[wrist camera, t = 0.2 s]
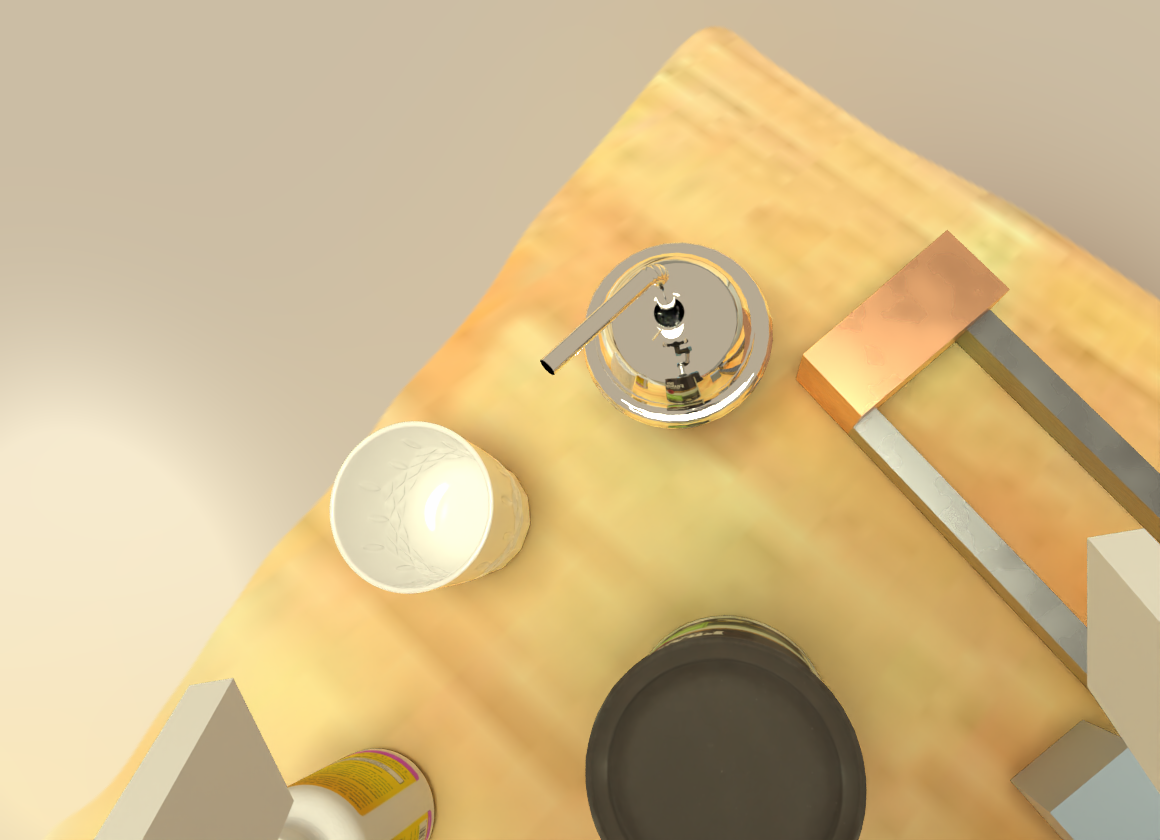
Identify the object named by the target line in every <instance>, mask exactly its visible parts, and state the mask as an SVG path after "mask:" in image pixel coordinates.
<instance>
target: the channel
mask: <svg viewBox="0 0 1160 840" xmlns="http://www.w3.org/2000/svg"><path fill="white" fill-rule="evenodd" d="M1009 290H1010V289H1009V288H1008V287H1007V286H1006V285H1005V284H1004V283H1003V282H1002V281H1000V280H999V279H998V278H997V277H996V276H995V275H994V274H993V273H992V272H991V271H990V270H989V269H988V268H987V267H986V266H985V265H984V264H983V263H982V262H981V261H979V260H978V259H977V258H976V257H975V256H974V255H973V254H972V253H971V252H970V251H969V250H968V249H967V248H966V247H965V246H964V245H963V244H962V243H961V242H960V241H958V240H957V239H956V238H955V237H954V236H953V235H952V234H951V233H950V232H949V231H948V230H947V231H945V232H944V233H943V234H942V235H941V236H940V237H938V238H937V239H936V240H935V241H934V242H933V243H931V244H930V245H929V246H928V247H927V248H926V249H925V250H923V251H922V252H921V253H920V254H919V255H918V256H916V257H915V258H914V259H913V260H912V261H911V262H909V263H908V264H907V265H906V266H905V267H904V268H903V269H901V270H900V271H899V272H898V273H897V274H896V275H894V276H893V277H892V278H891V279H890V280H889V281H887V282H886V283H885V284H884V285H883V286H882V287H880V288H879V289H878V290H877V291H876V292H875V293H874V294H872V295H871V296H870V297H869V298H868V299H867V300H865V301H864V302H863V303H862V304H861V305H860V306H858V307H857V308H856V309H855V310H854V311H853V312H851V313H850V314H849V315H848V316H847V317H846V318H845V319H843V320H842V321H841V322H840V323H839V324H838V325H836V326H835V327H834V328H833V329H832V330H831V331H829V332H828V333H827V334H826V335H825V336H824V337H822V338H821V339H820V340H819V341H818V342H817V343H816V344H814V345H813V346H812V347H811V348H810V349H809V350H807V351H806V352H805V353H804V354H803V356H802V359H801V363H800V366H799V370H798V374H797V377H796V380H797V381H798V382H799V383H800V384H801V385H802V386H803V387H804V388H805V389H806V391H807V392H808V393H809V394H810V395H811V396H812V397H813V398H814V399H815V400H816V401H817V402H818V403H819V404H820V405H821V406H822V408H823V409H824V410H825V411H826V412H827V413H828V414H829V415H830V416H831V417H832V418H833V419H834V420H835V421H836V422H837V423H838V424H839V426H840V427H841V428H842V429H843V430H844V431H845V432H846V433H847V434H848V435H849V436H850V437H851V438H852V439H853V440H854V441H855V443H856V444H857V445H858V446H859V447H860V448H861V449H862V450H863V451H864V452H865V453H866V454H867V455H868V456H869V457H870V458H871V460H872V461H873V462H874V463H875V464H876V465H877V466H878V467H879V468H880V469H881V470H882V471H883V472H884V473H885V474H886V475H887V476H888V478H889V479H890V480H891V481H892V482H893V483H894V484H895V485H896V486H897V487H898V488H899V489H900V490H901V491H902V492H903V493H904V495H905V496H906V497H907V498H908V499H909V500H910V501H911V502H912V503H913V504H914V505H915V506H916V507H917V508H918V509H919V510H920V511H921V513H922V514H923V515H924V516H925V517H926V518H927V519H928V520H929V521H930V522H931V523H932V524H933V525H934V526H935V527H936V528H937V530H938V531H939V532H940V533H941V534H942V535H943V536H944V537H945V538H946V539H947V540H948V541H949V542H950V543H951V544H952V545H953V546H954V548H955V549H956V550H957V551H958V552H959V553H960V554H961V555H962V556H963V557H964V558H965V559H966V560H967V561H968V562H969V563H970V565H971V566H972V567H973V568H974V569H975V570H976V571H977V572H978V573H979V574H980V575H981V576H982V577H983V578H984V579H985V580H986V582H987V583H988V584H989V585H990V586H991V587H992V588H993V589H994V590H995V591H996V592H997V593H998V594H999V595H1000V596H1001V597H1002V598H1003V600H1004V601H1005V602H1006V603H1007V604H1008V605H1009V606H1010V607H1011V608H1012V609H1013V610H1014V611H1015V612H1016V613H1017V614H1018V615H1019V617H1020V618H1021V619H1022V620H1023V621H1024V622H1025V623H1026V624H1027V625H1028V626H1029V627H1030V628H1031V629H1032V630H1033V631H1034V632H1035V633H1036V635H1037V636H1038V637H1039V638H1040V639H1041V640H1042V641H1043V642H1044V643H1045V644H1046V645H1047V646H1048V647H1049V648H1050V649H1051V650H1052V652H1053V653H1054V654H1055V655H1056V656H1057V657H1058V658H1059V659H1060V660H1061V661H1062V662H1063V663H1064V664H1065V665H1066V666H1067V667H1068V668H1069V670H1070V671H1071V672H1072V673H1073V674H1074V675H1075V676H1076V677H1077V678H1078V679H1079V680H1080V681H1081V682H1082V683H1083V684H1084V685H1085V687H1086V688H1087V689H1088V687H1087V627H1086V626H1085V625H1084V624H1083V623H1082V622H1081V621H1080V620H1079V619H1078V618H1077V617H1076V616H1075V615H1074V614H1073V613H1072V611H1071V610H1070V609H1069V608H1068V607H1067V606H1066V605H1065V604H1064V603H1063V602H1062V601H1061V600H1060V599H1059V598H1058V597H1057V596H1056V595H1055V594H1054V593H1053V592H1052V591H1051V590H1050V589H1049V588H1048V586H1047V585H1046V584H1045V583H1044V582H1043V581H1042V580H1041V579H1040V578H1039V577H1038V576H1037V575H1036V574H1035V573H1034V572H1033V571H1032V570H1031V569H1030V568H1029V567H1028V566H1027V565H1026V564H1025V563H1024V562H1023V560H1022V559H1021V558H1020V557H1019V556H1018V555H1017V554H1016V553H1015V552H1014V551H1013V550H1012V549H1011V548H1010V547H1009V546H1008V545H1007V544H1006V543H1005V542H1004V541H1003V540H1002V539H1001V538H1000V537H999V536H998V534H997V533H996V532H995V531H994V530H993V529H992V528H991V527H990V526H989V525H988V524H987V523H986V522H985V521H984V520H983V519H982V518H981V517H980V516H979V515H978V514H977V513H976V512H975V511H974V509H973V508H972V507H971V506H970V505H969V504H968V503H967V502H966V501H965V500H964V499H963V498H962V497H961V496H960V495H959V494H958V493H957V492H956V491H955V490H954V489H953V488H952V487H951V486H950V485H949V483H948V482H947V481H946V480H945V479H944V478H943V477H942V476H941V475H940V474H939V473H938V472H937V471H936V470H935V469H934V468H933V467H932V466H931V465H930V464H929V463H928V462H927V461H926V460H925V459H924V457H923V456H922V455H921V454H920V453H919V452H918V451H917V450H916V449H915V448H914V447H913V446H912V445H911V444H910V443H909V442H908V441H907V440H906V439H905V438H904V437H903V436H902V435H901V434H900V432H899V431H898V430H897V429H896V428H895V427H894V426H893V425H892V424H891V423H890V422H889V421H888V420H887V419H886V418H885V417H884V416H883V415H882V414H881V413H880V412H879V411H878V410H877V408H879V407H880V406H881V405H882V404H883V403H884V402H886V401H887V400H888V399H889V398H890V397H891V396H893V395H894V394H895V393H896V392H897V391H898V390H900V389H901V388H902V387H903V386H904V385H905V384H907V383H908V382H909V381H910V380H911V379H912V378H914V377H915V376H916V375H917V374H918V373H919V372H921V371H922V370H923V369H924V368H925V367H926V366H928V365H929V364H930V363H931V362H932V361H933V360H935V359H936V358H937V357H938V356H939V355H940V354H942V353H943V352H944V351H945V350H946V349H947V348H949V347H950V346H951V345H952V344H953V343H954V342H957V343H958V344H959V345H960V346H961V347H962V348H963V349H964V350H965V351H966V352H967V353H968V354H969V355H970V356H971V357H972V358H973V359H974V360H975V361H976V362H977V363H978V364H979V365H980V366H981V367H982V368H983V369H984V370H985V371H986V372H987V373H988V374H989V375H990V376H991V377H992V378H993V379H994V380H995V381H996V382H997V383H998V384H999V385H1000V386H1001V387H1002V388H1003V389H1004V390H1005V391H1006V392H1008V393H1009V394H1010V395H1011V396H1012V397H1013V398H1014V399H1015V400H1016V401H1017V402H1018V403H1019V404H1020V405H1021V406H1022V407H1023V408H1024V409H1025V410H1026V411H1027V412H1028V413H1029V414H1030V415H1031V416H1032V417H1033V418H1034V419H1035V420H1036V421H1037V422H1038V423H1039V424H1040V425H1041V426H1042V427H1043V428H1044V429H1045V430H1046V431H1047V432H1048V433H1049V434H1050V435H1051V436H1052V437H1053V438H1054V439H1055V440H1056V441H1057V442H1058V443H1059V444H1060V445H1061V446H1062V447H1063V448H1064V449H1065V450H1066V451H1067V452H1068V453H1069V454H1070V455H1071V456H1072V457H1073V458H1074V459H1075V460H1076V461H1077V462H1078V463H1079V464H1080V465H1081V466H1082V467H1083V468H1084V469H1085V470H1086V471H1087V472H1088V473H1089V474H1091V475H1092V476H1093V477H1094V478H1095V479H1096V480H1097V481H1098V482H1099V483H1100V484H1101V485H1102V486H1103V487H1104V488H1105V489H1106V490H1107V491H1108V492H1109V493H1110V494H1111V495H1112V496H1113V497H1114V498H1115V499H1116V500H1117V501H1118V502H1119V503H1120V504H1121V505H1122V506H1123V507H1124V508H1125V509H1126V510H1127V511H1128V512H1129V513H1130V514H1131V515H1132V516H1133V517H1134V518H1135V519H1136V520H1137V521H1138V522H1139V523H1140V524H1141V525H1142V526H1143V527H1144V528H1145V529H1146V530H1147V531H1148V532H1149V533H1150V534H1151V535H1152V536H1153V537H1154V538H1155V539H1156V540H1157V541H1158V542H1159V543H1160V474H1159V473H1158V472H1157V471H1156V470H1155V469H1154V468H1153V467H1152V466H1151V465H1150V464H1149V463H1148V462H1147V461H1146V460H1145V459H1144V458H1143V457H1142V456H1141V455H1140V454H1139V453H1138V452H1137V451H1136V450H1135V449H1134V448H1133V447H1132V446H1130V445H1129V444H1128V443H1127V442H1126V441H1125V440H1124V439H1123V438H1122V437H1121V436H1120V435H1119V434H1118V433H1117V432H1116V431H1115V430H1114V429H1113V428H1112V427H1111V426H1110V425H1109V424H1108V423H1107V422H1106V421H1105V420H1104V419H1103V418H1101V417H1100V416H1099V415H1098V414H1097V413H1096V412H1095V411H1094V410H1093V409H1092V408H1091V407H1090V406H1089V405H1088V404H1087V403H1086V402H1085V401H1084V400H1083V399H1082V398H1081V397H1080V396H1079V395H1078V394H1077V393H1076V392H1075V391H1074V390H1072V389H1071V388H1070V387H1069V386H1068V385H1067V384H1066V383H1065V382H1064V381H1063V380H1062V379H1061V378H1060V377H1059V376H1058V375H1057V374H1056V373H1055V372H1054V371H1053V370H1052V369H1051V368H1050V367H1049V366H1048V365H1047V364H1046V363H1045V362H1043V361H1042V360H1041V359H1040V358H1039V357H1038V356H1037V355H1036V354H1035V353H1034V352H1033V351H1032V350H1031V349H1030V348H1029V347H1028V346H1027V345H1026V344H1025V343H1024V342H1023V341H1022V340H1021V339H1020V338H1019V337H1018V336H1017V335H1016V334H1014V333H1013V332H1012V331H1011V330H1010V329H1009V328H1008V327H1007V326H1006V325H1005V324H1004V323H1003V322H1002V321H1001V320H1000V319H999V318H998V317H997V316H996V315H995V314H994V313H993V312H992V311H991V310H990V309H991V308H992V307H993V306H994V305H995V304H996V303H997V302H998V301H999V300H1000V299H1001V298H1002V297H1003V296H1004V295H1005V294H1006V293H1007V292H1008V291H1009ZM1088 690H1089V689H1088ZM1089 691H1090V690H1089Z"/></svg>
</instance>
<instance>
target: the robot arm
mask: <svg viewBox="0 0 1160 840" xmlns="http://www.w3.org/2000/svg"><path fill="white" fill-rule="evenodd" d="M1087 687H1088V689H1089V690H1090V692H1091V693H1092V695H1093V696H1094V697H1095V699H1096V700H1097V702H1098V703H1099V705H1100V706H1101V708H1102V709H1103V711H1104V712H1105V714H1106V715H1107V717H1108V718H1109V720H1110V721H1111V723H1112V724H1113V726H1114V727H1115V729H1116V730H1117V732H1118V733H1119V735H1120V736H1121V737H1122V739H1123V740H1124V742H1125V743H1126V745H1127V746H1128V748H1129V749H1130V751H1131V752H1132V754H1133V755H1134V757H1135V758H1136V760H1137V761H1138V763H1139V764H1140V766H1141V767H1142V769H1143V770H1144V772H1145V773H1146V775H1147V776H1148V777H1149V779H1150V780H1151V782H1152V783H1153V785H1154V786H1155V788H1156V789H1157V791H1158V792H1159V794H1160V544H1159V543H1158V542H1157V541H1156V540H1155V539H1154V538H1153V537H1152V536H1151V535H1150V534H1149V533H1148V532H1147V531H1146V530H1145V529H1138V530H1132V531H1126V532H1119V533H1113V534H1107V535H1101V536H1095V537H1089V538H1087ZM293 802H294V800H293V798H292V796H291V794H290V792H289V790H288V788H287V786H286V784H285V782H284V780H283V778H282V776H281V774H280V772H279V769H278V767H277V765H276V763H275V761H274V759H273V757H272V755H271V753H270V751H269V749H268V747H267V745H266V743H265V741H264V739H263V737H262V735H261V733H260V731H259V729H258V727H257V725H256V723H255V721H254V719H253V717H252V715H251V713H250V711H249V709H248V707H247V705H246V703H245V701H244V699H243V697H242V695H241V693H240V691H239V689H238V687H237V685H236V683H235V681H234V679H233V678H231V679H225V680H219V681H213V682H207V683H201V684H195V685H189V687H188V689H187V690H186V692H185V693H184V695H183V697H182V698H181V700H180V702H179V703H178V705H177V706H176V708H175V710H174V711H173V713H172V714H171V716H170V718H169V719H168V721H167V722H166V724H165V726H164V727H163V729H162V731H161V732H160V734H159V735H158V737H157V739H156V740H155V742H154V743H153V745H152V747H151V748H150V750H149V751H148V753H147V755H146V756H145V758H144V759H143V761H142V763H141V764H140V766H139V768H138V769H137V771H136V772H135V774H134V776H133V777H132V779H131V780H130V782H129V784H128V785H127V787H126V788H125V790H124V792H123V793H122V795H121V797H120V798H119V800H118V801H117V803H116V805H115V806H114V808H113V809H112V811H111V813H110V814H109V816H108V817H107V819H106V821H105V822H104V824H103V826H102V827H101V829H100V830H99V832H98V834H97V835H96V837H95V838H94V840H278V839H279V837H280V834H281V832H282V829H283V827H284V824H285V822H286V819H287V817H288V814H289V812H290V809H291V807H292V804H293Z"/></svg>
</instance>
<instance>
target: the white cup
mask: <svg viewBox="0 0 1160 840" xmlns="http://www.w3.org/2000/svg"><path fill="white" fill-rule="evenodd" d="M330 522H331V528H332V533H333V536H334V540H335V542H336V545H337V547H338V549H339V551H340V553H341V555H342V556H343V558H344V560H345V561H346V562H347V564H348V565H349V566H350V567H351V568H352V570H353V571H354V572H355V573H357V574H358V575H359V576H360V577H361V578H363V579H364V580H365V581H367V582H369V583H370V584H372V585H374V586H376V587H378V588H381V589H384V590H387V591H390V592H395V593H404V594H413V593H422V592H427V591H431V590H435V589H440V588H444V587H449V586H454V585H458V584H462V583H466V582H469V581H472V580H475V579H478V578H480V577H482V576H484V575H486V574H489V573H492V572H494V571H497V570H500V569H502V568H503V567H504V566H505V565H506V564H507V563H508V562H509V561H510V560H511V559H512V558H513V557H514V556H515V555H516V554H517V553H518V552H519V551H520V550H521V549H522V546H523V543H524V540H525V537H526V534H527V532H528V529H529V526H530V514H529V504H528V496H527V494H526V493H525V491H524V489H523V488H522V486H521V484H520V483H519V481H518V479H517V478H516V476H515V474H514V473H512V472H511V471H509V470H508V469H506V468H505V467H504V466H503V465H502V464H501V463H500V462H499V461H498V460H496V459H495V458H494V457H492V456H491V455H490V454H488V453H487V452H485V451H484V450H483V449H481V448H480V447H478V446H476V445H475V444H473V443H471V442H469V441H468V440H466V439H465V438H463V437H461V436H460V435H458V434H457V433H455V432H453V431H452V430H450V429H448V428H445V427H443V426H440V425H437V424H434V423H429V422H421V421H409V422H401V423H397V424H393V425H390V426H387V427H384V428H382V429H380V430H378V431H376V432H374V433H373V434H371V435H369V436H368V437H367V438H365V439H364V440H363V441H362V442H361V443H359V444H358V445H357V446H356V447H355V448H354V449H353V451H352V452H351V453H350V454H349V455H348V457H347V458H346V460H345V461H344V463H343V465H342V466H341V468H340V470H339V472H338V474H337V477H336V479H335V482H334V485H333V489H332V493H331V500H330Z"/></svg>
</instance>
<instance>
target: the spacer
mask: <svg viewBox="0 0 1160 840" xmlns="http://www.w3.org/2000/svg"><path fill="white" fill-rule="evenodd" d="M1010 781H1011V782H1012V783H1013V784H1014V785H1015V786H1016V788H1017V789H1018V790H1019V791H1020V792H1021V793H1022V794H1023V795H1024V797H1025V798H1026V799H1027V800H1028V801H1029V802H1030V803H1031V804H1032V805H1033V807H1034V808H1035V809H1036V810H1037V811H1038V812H1039V813H1040V814H1041V816H1042V817H1043V818H1044V819H1045V820H1046V821H1047V822H1048V823H1049V825H1050V826H1051V827H1052V828H1053V829H1054V830H1055V831H1056V832H1057V833H1058V835H1059V836H1060V837H1061V838H1062V839H1063V840H1160V794H1159V792H1158V791H1157V789H1156V788H1155V786H1154V785H1153V783H1152V782H1151V780H1150V779H1149V777H1148V776H1147V775H1146V773H1145V772H1144V770H1143V769H1142V767H1141V766H1140V764H1139V763H1138V761H1137V760H1136V758H1135V757H1134V755H1133V754H1132V752H1131V751H1130V749H1129V748H1128V746H1127V745H1126V743H1125V742H1124V740H1123V739H1122V738H1121V737H1119V736H1117V735H1115V734H1113V733H1110V732H1108V731H1106V730H1104V729H1102V728H1100V727H1097V726H1095V725H1093V724H1091V723H1089V722H1086V721H1084V720H1082V721H1080V722H1079V723H1078V724H1077V725H1076V726H1074V727H1073V728H1072V729H1071V730H1070V731H1069V732H1067V733H1066V734H1065V735H1064V736H1063V737H1061V738H1060V739H1059V740H1058V741H1057V742H1055V743H1054V744H1053V745H1052V746H1051V747H1049V748H1048V749H1047V750H1046V751H1045V752H1043V753H1042V754H1041V755H1040V756H1039V757H1037V758H1036V759H1035V760H1034V761H1033V762H1031V763H1030V764H1029V765H1028V766H1027V767H1025V768H1024V769H1023V770H1022V771H1021V772H1019V773H1018V774H1017V775H1016V776H1015V777H1013V778H1012V779H1011V780H1010Z"/></svg>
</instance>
